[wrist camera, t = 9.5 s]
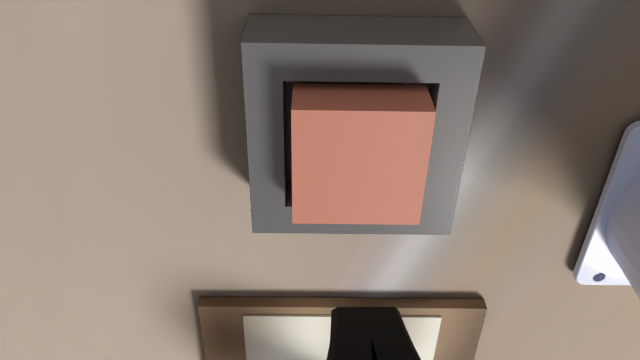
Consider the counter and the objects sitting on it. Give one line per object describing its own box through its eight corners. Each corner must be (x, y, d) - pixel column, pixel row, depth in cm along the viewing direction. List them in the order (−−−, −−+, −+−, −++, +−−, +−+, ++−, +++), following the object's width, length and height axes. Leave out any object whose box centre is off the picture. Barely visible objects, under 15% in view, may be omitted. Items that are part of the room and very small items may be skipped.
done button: (426, 85, 18) (436, 111, 17) (412, 192, 21) (419, 224, 19) (293, 83, 18) (291, 109, 17) (294, 191, 21) (292, 223, 19)
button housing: (467, 17, 19) (486, 46, 17) (438, 194, 23) (450, 234, 21) (248, 14, 19) (240, 42, 17) (257, 192, 23) (252, 232, 21)
